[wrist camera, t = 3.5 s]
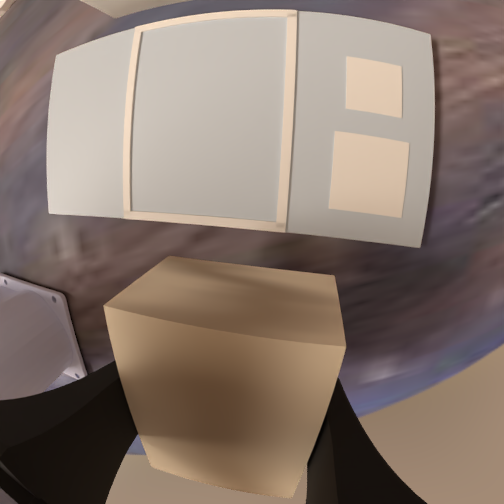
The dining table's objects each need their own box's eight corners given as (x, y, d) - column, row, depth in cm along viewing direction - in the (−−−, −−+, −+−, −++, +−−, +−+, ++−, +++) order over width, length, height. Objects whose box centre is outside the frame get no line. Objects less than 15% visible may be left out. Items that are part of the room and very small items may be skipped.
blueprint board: (55, 211, 15) (47, 213, 14) (62, 56, 12) (55, 54, 11) (415, 244, 12) (420, 248, 11) (426, 38, 9) (431, 33, 8)
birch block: (183, 407, 13) (151, 467, 9) (169, 255, 10) (103, 305, 7) (300, 428, 12) (291, 498, 8) (334, 275, 9) (346, 346, 6)
